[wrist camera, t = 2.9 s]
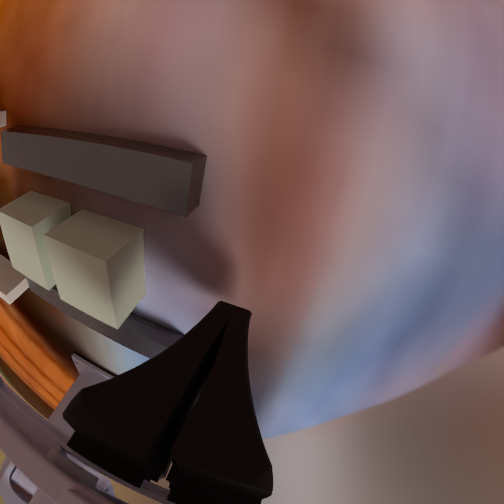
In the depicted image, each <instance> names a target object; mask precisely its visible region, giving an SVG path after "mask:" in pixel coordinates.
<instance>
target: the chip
mask: <svg viewBox="0 0 504 504" xmlns="http://www.w3.org/2000/svg"><path fill="white" fill-rule="evenodd" d="M69 217H71V209H70V203H69V202H66V201H62V200H59V199H56V198H53V197H50V196H47V195H43V194H40V193H37V192H34V191H30V192H28V193H26V194H24V195H23V196H21V197H19V198H17V199H16V200H14V201H12V202H10V203H9V204H7V205H5V206H4V207H2V208H0V225H1V229H2V233H3V236H4V240H5V244H6V247H7V251H8V254H9V257H10V260H11V263H12V266H13V268H14V269H16V270H17V271H19V272H20V273H22V274H23V275H25V276H26V277H28V278H29V279H31V280H32V281H34V282H36V283H37V284H39V285H40V286H42V287H44V288H45V289H47V290H50V289H51V288H52V287H53V286H54V285H56V282H55V279H54V275H53V272H52V268H51V264H50V260H49V256H48V251H47V247H46V242H45V238H44V234H45V233H47V232H48V231H50V230H51V229H53V228H54V227H55V226H57V225H58V224H60V223H61V222H63V221H64V220H66V219H67V218H69Z"/></svg>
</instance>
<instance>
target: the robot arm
mask: <svg viewBox="0 0 504 504" xmlns="http://www.w3.org/2000/svg"><path fill="white" fill-rule="evenodd" d="M251 314H252V313H251V312H250V311H249V310H247V309H244V308H241V307H238V306H235V305H232V304H229V303H226V302H223V301H219V302H218V303H217V304H216V305H215V306H214V307H213V309H212V310H211V311H210V312H209V313H208V314H207V315H206V316H205V317H204V318H203V319H202V320H201V321H200V322H199V323H198V324H196V325H195V326H194V327H193V328H192V329H191V330H190V331H189V332H187V333H186V334H185V335H184V336H182V337H181V338H180V339H179V340H177V341H176V342H175V343H173V344H172V345H171V346H169V347H168V348H167V349H165V350H164V351H162V352H161V353H159V354H157V355H156V356H154V357H153V358H151V359H149V360H148V361H146V362H144V363H142V364H141V365H139V366H137V367H135V368H133V369H131V370H129V371H127V372H124V373H122V374H120V375H118V376H115V377H114V376H112V375H110V374H108V373H107V372H105V371H103V370H101V369H100V368H98V367H96V366H94V365H93V364H91V363H89V362H88V361H86V360H84V359H83V358H81V357H80V356H78V355H76V354H73V355H72V356H71V357H72V359H73V362H74V364H75V366H76V368H77V370H78V372H79V374H80V375H79V376H78V377H77V379H76V380H75V382H74V383H73V384H72V386H71V387H70V389H69V390H68V391H67V393H66V394H65V396H64V397H63V399H62V400H61V401H60V403H59V404H58V406H57V407H56V409H55V410H54V412H53V413H52V415H51V416H50V418H49V419H48V420H47V419H45V418H44V417H43V416H42V415H40V414H39V413H38V412H37V411H36V410H34V409H33V408H32V407H31V406H30V405H28V404H27V403H26V402H25V401H24V400H23V399H22V398H20V396H18V395H17V394H16V393H15V392H14V391H13V390H12V389H11V388H10V387H9V386H8V385H7V384H6V383H5V382H4V381H3V380H2V378H1V377H0V449H1V451H2V452H3V453H4V454H5V455H6V458H5V460H4V461H3V463H2V466H1V470H0V494H1V496H2V498H3V500H4V502H5V504H128V503H126V502H124V501H122V500H120V499H118V498H116V497H115V494H114V491H113V487H112V485H111V484H110V480H109V479H107V478H106V477H104V476H102V475H100V474H99V473H101V474H103V475H105V476H107V477H109V478H111V479H113V480H114V481H116V482H118V483H120V484H122V485H124V486H126V487H128V488H130V489H132V490H134V491H136V492H138V493H140V494H142V495H145V496H147V497H149V498H152V499H154V500H156V501H158V502H161V503H163V504H261V500H262V499H264V498H267V497H269V496H271V494H272V491H273V473H272V465H271V462H270V460H269V457H268V455H267V452H266V449H265V446H264V444H263V440H262V437H261V434H260V430H259V427H258V423H257V419H256V415H255V411H254V406H253V401H252V395H251V389H250V381H249V371H248V329H249V322H250V317H251ZM198 396H199V397H198ZM197 398H198V399H197ZM196 400H197V401H196ZM195 402H196V403H195ZM171 461H172V467H171V469H170V471H169V474H168V476H167V478H166V480H167V481H169V483H170V485H169V488H170V490H168V489H166V488H163V487H161V486H158V485H156V484H154V483H152V482H150V480H153V481H155V482H158V480H159V479H162V478H165V477H166V474H167V472H168V469H169V466H170V464H171ZM88 466H89V467H91V468H92V469H91V468H89V467H88ZM93 469H94V470H96V471H97V472H99V473H97V472H96V471H94V470H93Z"/></svg>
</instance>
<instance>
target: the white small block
mask: <svg viewBox="0 0 504 504" xmlns="http://www.w3.org/2000/svg"><path fill="white" fill-rule="evenodd" d="M44 238H45V242H46V247H47V251H48V256H49V260H50V264H51V268H52V272H53V275H54V279H55V282H56V286H57V289H58V292H59V296H60V299H61V300H63V301H65V302H67V303H68V304H70V305H72V306H74V307H75V308H77V309H79V310H81V311H83V312H85V313H86V314H88V315H90V316H92V317H94V318H96V319H98V320H100V321H102V322H104V323H106V324H108V325H110V326H112V327H114V328H116V329H118V328H119V327H120V326H121V325H122V323H123V322H124V321H125V319H126V318H127V317H128V316H129V314H130V313H131V312H132V310H133V309H134V308H135V307H136V305H137V304H138V303H139V302H140V300H141V299H142V298H143V297H144V295H145V294H146V289H145V270H144V229H143V228H140V227H137V226H134V225H130V224H127V223H124V222H121V221H118V220H115V219H112V218H109V217H106V216H103V215H99V214H96V213H93V212H90V211H87V210H84V209H81V210H80V211H78V212H77V213H75V214H74V215H72V216H71V217H69V218H67V219H66V220H64V221H63V222H61V223H60V224H58V225H57V226H55V227H54V228H53V229H51V230H50V231H48V232H47V233H45V234H44Z"/></svg>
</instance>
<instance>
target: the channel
mask: <svg viewBox="0 0 504 504" xmlns="http://www.w3.org/2000/svg"><path fill="white" fill-rule="evenodd" d="M1 141H2V158H3V163H4V164H8V165H11V166H15V167H18V168H22V169H26V170H29V171H33V172H36V173H40V174H43V175H47V176H50V177H53V178H57V179H60V180H64V181H67V182H71V183H74V184H78V185H81V186H84V187H88V188H91V189H94V190H98V191H101V192H105V193H108V194H111V195H115V196H118V197H121V198H125V199H128V200H131V201H135V202H138V203H141V204H144V205H148V206H151V207H154V208H157V209H161V210H164V211H167V212H171V213H174V214H177V215H180V216H183V217H186V216H187V215H189V214H190V213H191V212H192V211H193V210H194V209H195V208H196V207H197V206H198V205H199V201H200V194H201V188H202V181H203V175H204V169H205V163H206V157H207V156H205V155H201V154H196V153H192V152H188V151H183V150H179V149H174V148H169V147H165V146H160V145H155V144H150V143H144V142H139V141H133V140H128V139H122V138H116V137H110V136H103V135H97V134H90V133H82V132H74V131H66V130H57V129H47V128H36V127H23V126H15V127H12V128H9V129H6V130H3V131H1ZM26 279H27V282H28V285H29V288H30V290H31V291H32V292H34V293H35V294H37V295H38V296H40V297H41V298H43V299H44V300H46V301H47V302H49V303H50V304H52V305H53V306H55V307H56V308H58V309H59V310H61V311H63V312H64V313H66V314H67V315H69V316H71V317H72V318H74V319H76V320H77V321H79V322H81V323H83V324H84V325H86V326H88V327H90V328H91V329H93V330H95V331H97V332H98V333H100V334H102V335H104V336H106V337H108V338H110V339H112V340H113V341H115V342H117V343H119V344H121V345H123V346H125V347H127V348H129V349H131V350H133V351H135V352H137V353H140V354H142V355H144V356H146V357H148V358H150V359H151V358H153V357H154V356H156V355H157V354H159V353H161V352H162V351H164V350H165V349H167V348H168V347H169V346H171V345H172V344H173V343H175V342H176V341H177V340H179V339H180V338H181V337H182V336H184V335H182V334H180V333H177V332H175V331H172V330H170V329H167V328H165V327H163V326H160V325H158V324H156V323H153V322H151V321H149V320H146V319H144V318H142V317H140V316H137V315H135V314H133V313H130V314H129V316H128V317H127V318H126V319H125V321H124V322H123V323H122V325H121V326H120V327H119V328H118V329H116V328H114V327H112V326H110V325H108V324H106V323H104V322H102V321H100V320H98V319H96V318H94V317H92V316H90V315H88V314H86V313H85V312H83V311H81V310H79V309H77V308H75V307H74V306H72V305H70V304H68V303H67V302H65V301H63V300H61V299H60V296H59V292H58V289H57V286H56V285H54V286H53V287H52V288H51V289H50V290H47V289H45V288H44V287H42V286H40V285H39V284H37V283H36V282H34V281H32V280H31V279H29V278H28V277H26Z"/></svg>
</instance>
